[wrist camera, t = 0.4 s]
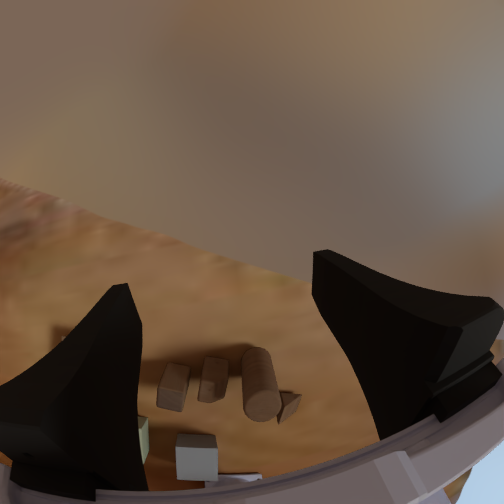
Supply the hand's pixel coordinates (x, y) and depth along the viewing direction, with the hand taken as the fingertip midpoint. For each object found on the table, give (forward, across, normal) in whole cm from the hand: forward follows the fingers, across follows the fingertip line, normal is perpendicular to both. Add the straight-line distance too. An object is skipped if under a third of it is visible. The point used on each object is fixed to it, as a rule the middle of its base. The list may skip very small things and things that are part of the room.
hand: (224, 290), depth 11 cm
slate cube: (+9, +7, +32) cm, 34 cm away
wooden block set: (+16, 0, +26) cm, 30 cm away
